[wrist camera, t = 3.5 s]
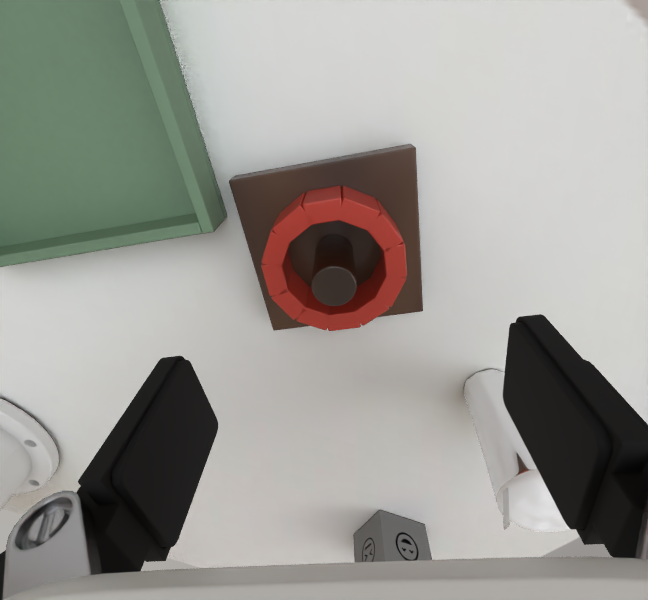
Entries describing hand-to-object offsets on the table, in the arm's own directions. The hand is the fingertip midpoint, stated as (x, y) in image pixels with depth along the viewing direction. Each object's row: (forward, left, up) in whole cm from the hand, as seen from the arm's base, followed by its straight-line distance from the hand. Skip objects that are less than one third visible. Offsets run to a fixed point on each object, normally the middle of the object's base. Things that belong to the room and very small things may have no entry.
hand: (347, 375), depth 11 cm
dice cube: (0, -30, -11) cm, 32 cm away
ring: (0, 0, -10) cm, 10 cm away
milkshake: (+8, -12, -11) cm, 18 cm away
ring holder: (0, 0, -11) cm, 11 cm away
